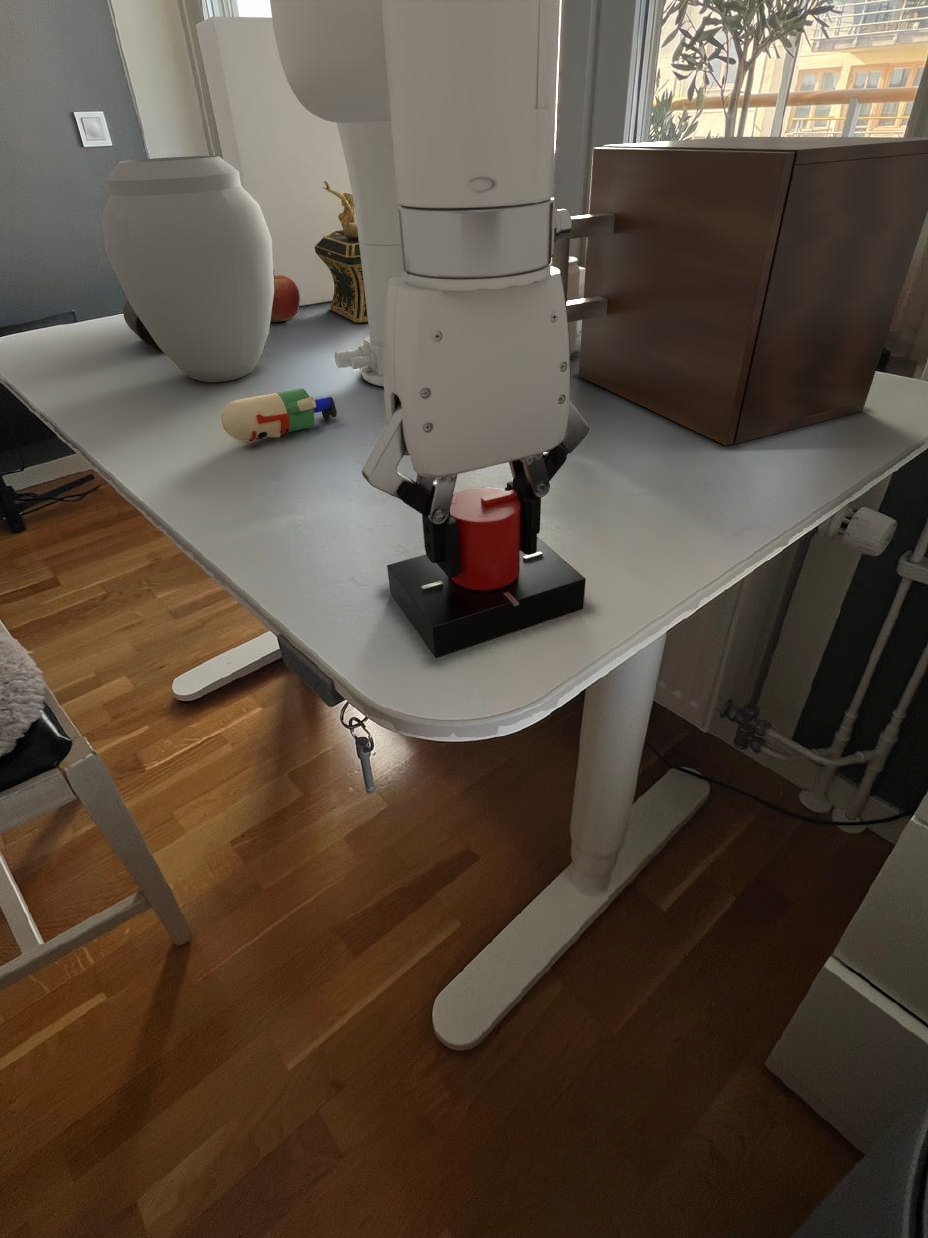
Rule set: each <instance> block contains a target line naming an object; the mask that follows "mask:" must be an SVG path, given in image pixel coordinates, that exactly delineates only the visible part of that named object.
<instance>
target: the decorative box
mask: <svg viewBox="0 0 928 1238" xmlns="http://www.w3.org/2000/svg"><path fill="white" fill-rule="evenodd" d="M324 183H325V184H326V188H325V187H323V188H324V189H326V190H327V191H329V192H330V193H333V194H334V195H336V196H337V197H338V198H340V199H341V200H342V201H341V202H342V206H344V212H343V213H341V214H339V216H338V218H339V220H340V221H341V225H342V228H343V230H340V231H335V232H333V233H331V234H329V235H327V236H324V237H323V238H322V239H321V240H320V241H319V242H318V243H317V244H316V245H315V252H316V254H317V255H318V256H319V257H320V258H321V260H322V261H323V262H324V263H325V264H326V265H327V267H328V268H329V270H330V272H331V274H332V277H333V281H334V295H333V299H332V301H331V303H330V307H329V309H330V310H331V311H332V312H334V313H337V314H338V315H340V316H341V317H344V318H346V319H348V320H350V321H351V322H353V323H355V324H365V323H368V316H367V307H366V298H365V290H364V281H363V272H362V264H361V255H360V246H359V239H358V230H357V223H355V222H356V217H355V211H354V201H353V195H352V194H350V193H349V194H348V193H344V194H343V195H344V196H343V195H342V194H340V193H338V192H336V191H333V190H331V189H330V186H329V185H328V183H327V182H326V181H324ZM336 233H338V234H336ZM335 234H336V235H335Z"/></svg>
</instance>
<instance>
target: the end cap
mask: <svg viewBox="0 0 928 1238" xmlns="http://www.w3.org/2000/svg"><path fill="white" fill-rule="evenodd" d="M122 312H123V313H122V315H123V319H124V321H125V323H126V325H127V326H128V328H129V329H130V330H132V332H133V333H134V334H135V335H136V336H137V337H138V338H139V339H140V340H141V341H142V342H143V343H145V344H146V345H147V346H149V347H151V348H152V349H154V350H156V351H158V352H162V353H164V352H163V351H162V350H161V349H160V348H159V346H158V345H157V344H156V342H155V341H154V339H153V338H152V336H151V335H150V333H149V332H148V330H147V329H146V327H145V326H144V324H143V323H142V322H141V320H140V319H139V317H138V316H137V314H136V313H135V311H134V310H133V308H132V307H131V305H130V303H129V301H128V299H127V300H126V301H125V303H124V306H123V309H122Z"/></svg>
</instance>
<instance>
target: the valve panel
mask: <svg viewBox="0 0 928 1238" xmlns="http://www.w3.org/2000/svg"><path fill="white" fill-rule="evenodd" d="M386 568H387V576H388V585H389V593H390V596H391V597H392V598H393V600H394V602H395V603H396V604H397V606H398V608H400V610H401V611H402V612H403V614H404V616H405V617H406V618H407V620H408V621H409V623H410V624H411V626H412V627H413V628H414V630H415V631H416V633H417V634H418V636H419V637H420V639H421V640H422V641H423V643H424V645H425V646H426V647H427V648H428V650H429V651H430V652H431V654H432V655H433V657H434V658H435V659H438V658H441V657H443V656H447V655H450V654H453V653H455V652H458V651H462V650H465V649H467V648H471V647H473V646H476V645H479V644H482V643H485V642H488V641H491V640H495V639H497V638H500V637H503V636H507V635H510V634H512V633H515V632H516V633H517V632H519V631H521V630H524V629H527V628H531V627H533V626H536V625H537V626H538V625H539V624H542V623H546V622H549V621H551V620H554V619H558V618H560V617H563V616H566V615H569V614H572V613H575V612H579V611H581V610H583V609H584V607H585V606H584V604H585V594H586V582H587V578H586V577H585V576H583V575H582V574H581V573H580V572H579V571H578V570H577V569H575V568H574V567H573V566H572V565H571V564H569V563H568V562H567V561H566V560H565V559H564V558H563V557H561V556H560V555H559V554H558V553H557V552H555V550H554V549H552V548H551V547H550V546H548V545H547V543H545V542H544V541H543V540H542V539H541V538H539V537H538V536H537V551H536V553H534V554H531V555H527V554H524V553H523V552H522V551H521V550H520V572H519V575H518V577H517V578H516V579H515V580H514V581H513V582H512V583H511V584H509V585H507V586H505V587H502V588H499V589H494V590H485V591H481V590H471V589H467V588H464V587H461V586H459V585H457V584H456V583H455V582H453V581H452V579H451V578H449V577H448V576H447V575H446V574H445V573H444V571H443V570H442V569H441V568H440V567H439V566H438V564H437V563H432V562H431V561H430V560H429V559H428V557H427V555H426V553H425V554H422V555H418V556H415V557H411V558H408V559H403V560H399V561H396V562H393V563H390V564H387V565H386Z"/></svg>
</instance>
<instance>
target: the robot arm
mask: <svg viewBox="0 0 928 1238" xmlns="http://www.w3.org/2000/svg"><path fill="white" fill-rule="evenodd" d="M561 3H562V0H269V4H270V12H271V18H272V20H273V27H274V33H275V38H276V43H277V48H278V52H279V56H280V60H281V64H282V67H283V70H284V73H285V75H286V78H287V81H288V83H289V85H290V87H291V89H292V91H293V93H294V94H295V96H296V97H297V99H298V100H299V102H300V103H301V104H302V105H303V106H304V107H305V109H306V110H308V111H309V112H310V113H312V114H313V115H315V116H317V117H319V118H321V119H323V120H327V121H330V122H337V126H338V131H339V135H340V139H341V144H342V148H343V152H344V156H345V160H346V164H347V169H348V174H349V179H350V184H351V189H352V195H353V201H354V208H355V215H356V222H357V230H358V239H359V246H360V255H361V264H362V272H363V281H364V290H365V298H366V307H367V316H368V322H367V323H368V332H369V337H364V338H363V339H362V341H363V345H358V346H357V349H352V350H349V349H347V350H341V351H335V352H334V362H335V364H336V366H337V367H336V368H338V369H341V368H348V367H351V369H352V370H358V369H361V375H362V378H363V380H365V381H366V382H367V383H370V384H371V385H375V386H379V387H383V394H384V396H383V397H384V414H385V416H384V417H385V428H384V429H383V431H382V433H381V435H380V436H379V439H378V440H377V442H376V444H375V445H374V447H373V449H372V451H371V452H370V454H369V456H368V458H367V460H366V462H365V463H364V464H363V467H362V470H361V475H362V477H363V478H364V480H365V481H366V482H367V483H368V484H369V485H370V486H371V487H372V488H375V489H376V490H379V491H381V492H383V493H385V494H387V495H389V496H391V497H394V498H396V499H398V500H401V502H403V503H404V504H406V505H407V506H409V507H410V508H412V509H413V510H415V511H416V512H418V513H419V514H421V517H422V519H421V520H422V533H423V542H424V545H423V546H424V551H425V554H426V555H427V557H428V559H429V560H430V561H431V562H432V563H437V564H438V566H439V567H440V568H441V569H442V570H443V571H444V573H445V574H446V575H447V576H448V577H449V578H453V577H456V576H458V574H459V573H460V555H459V534H458V524H457V521H456V520H455V519H454V518H453V517H452V516H451V515H450V507H451V502H452V498H453V494H455V493H454V492H455V488H456V484H457V478H458V475H460V474H466V473H469V472H473V471H478V470H482V469H486V468H491V467H495V466H498V465H502V464H507V463H508V465H509V469H510V472H511V476H512V481H509V482H506V487H505V488H504V490H505V491H510V490H514V491H515V492H517V498H518V499H519V501H520V503H521V519H520V550H521V551H522V552H523V553H524V554H527V555H531V554H534V553H536V551H537V537H538V534H540V531H541V514H542V513H541V512H542V509H541V508H542V498H544V497H545V496H547V495H548V494H549V492H550V489H551V483H550V482H551V481H552V479H553V478H554V477H555V476H556V474H557V473H558V472H559V471H560V469H561V468H562V467H563V466H564V464H565V463H566V462H567V459H568V454H572V452H574V450H575V449H576V448H577V447H578V446H579V445H580V444H581V443H582V442H583V441H584V440H585V439H586V438H587V436H588V435H589V433H590V425H589V424H588V423H587V421H586V420H585V418H584V417H583V416H582V414H581V413H580V412H579V410H578V409H577V407H576V406H575V404H574V403H573V401H572V400H571V399H570V396H571V395H570V392H571V391H570V390H571V388H570V387H571V371H570V370H571V367H570V366H571V365H570V363H571V362H570V361H571V360H570V359H571V358H570V357H571V356H569V335H568V324H567V313H566V305H565V298H564V291H563V285H562V279H561V274H560V270H559V269H557V268H555V267H552V266H551V257H553V255H554V242H555V241H556V240H557V239H560V238H566V237H568V236H569V234H570V232H571V227H572V219H571V217H572V215H571V213H570V211H569V210H568V209H567V208H561V209H557V208H556V197H555V198H554V196H555V173H556V172H555V171H556V170H555V169H556V145H557V144H556V141H557V118H558V117H557V116H558V92H559V91H558V89H559V87H558V85H559V63H560V62H559V61H560V59H559V58H560V33H561V31H560V30H561V8H562V7H561V5H562V4H561ZM405 456H408V457H409V456H410V459H411V465H412V468H413V471H414V472H415V474H416V479H415V480H414V479H413V478H411V477H410V476H408V475H406V474H404V473H401V472H399V471H398V466H399V465H400V463H401V462H402V460H403V458H404V457H405Z"/></svg>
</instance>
